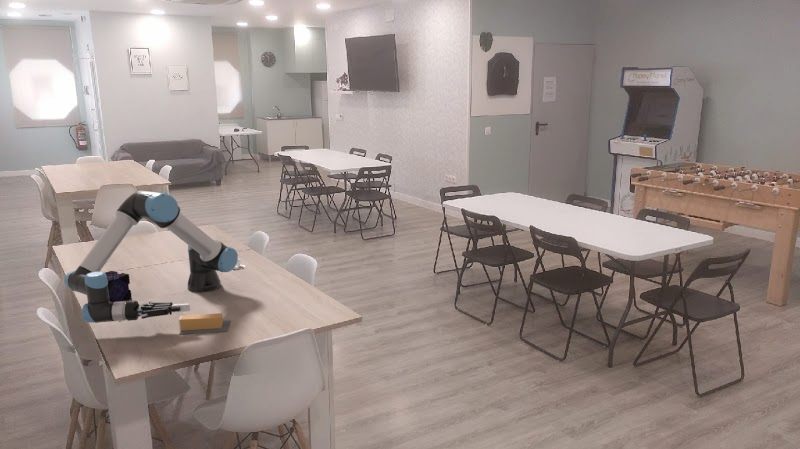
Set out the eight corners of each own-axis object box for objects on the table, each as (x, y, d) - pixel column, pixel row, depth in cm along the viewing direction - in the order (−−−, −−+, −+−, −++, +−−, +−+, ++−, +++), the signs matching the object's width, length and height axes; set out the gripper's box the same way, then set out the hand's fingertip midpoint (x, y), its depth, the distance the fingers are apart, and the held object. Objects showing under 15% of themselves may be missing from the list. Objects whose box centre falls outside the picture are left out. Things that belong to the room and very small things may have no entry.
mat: (179, 334, 234) (179, 333, 234) (185, 323, 244) (185, 322, 244) (227, 331, 236) (227, 330, 236) (230, 321, 247) (230, 320, 247)
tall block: (178, 319, 236) (220, 317, 238) (181, 315, 240) (222, 313, 242) (179, 330, 237) (221, 327, 239) (182, 326, 241) (223, 323, 243)
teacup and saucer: (235, 271, 315) (234, 263, 314) (226, 268, 320) (225, 261, 319) (248, 267, 322) (248, 259, 321) (239, 264, 327) (238, 257, 326)
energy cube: (114, 295, 279) (111, 270, 276) (131, 299, 274) (128, 274, 271) (90, 303, 269) (87, 278, 266) (108, 307, 263) (105, 281, 261)
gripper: (132, 313, 242) (193, 310, 245) (122, 326, 229) (187, 322, 232) (130, 296, 240) (191, 292, 243) (120, 307, 227) (185, 304, 231)
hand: (189, 307), depth 238 cm, fingers closed
